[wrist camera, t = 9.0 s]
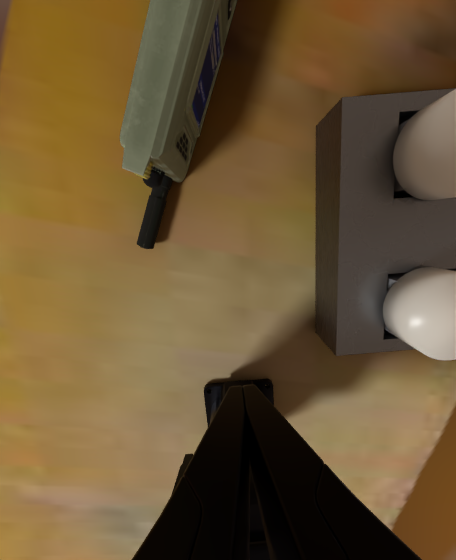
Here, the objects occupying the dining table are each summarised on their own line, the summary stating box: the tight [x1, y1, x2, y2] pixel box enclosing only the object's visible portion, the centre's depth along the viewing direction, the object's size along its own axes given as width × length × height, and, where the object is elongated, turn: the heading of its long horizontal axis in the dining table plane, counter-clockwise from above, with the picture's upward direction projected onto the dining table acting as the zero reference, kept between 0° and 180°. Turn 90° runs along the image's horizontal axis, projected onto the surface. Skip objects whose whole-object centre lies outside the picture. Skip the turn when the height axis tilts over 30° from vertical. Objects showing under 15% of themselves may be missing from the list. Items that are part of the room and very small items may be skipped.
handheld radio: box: [120, 0, 237, 249], centre depth 14 cm, size 7×3×25 cm
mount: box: [316, 88, 456, 356], centre depth 18 cm, size 17×12×4 cm
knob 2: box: [383, 267, 456, 360], centre depth 17 cm, size 6×6×6 cm
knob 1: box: [393, 89, 456, 200], centre depth 15 cm, size 6×6×6 cm
